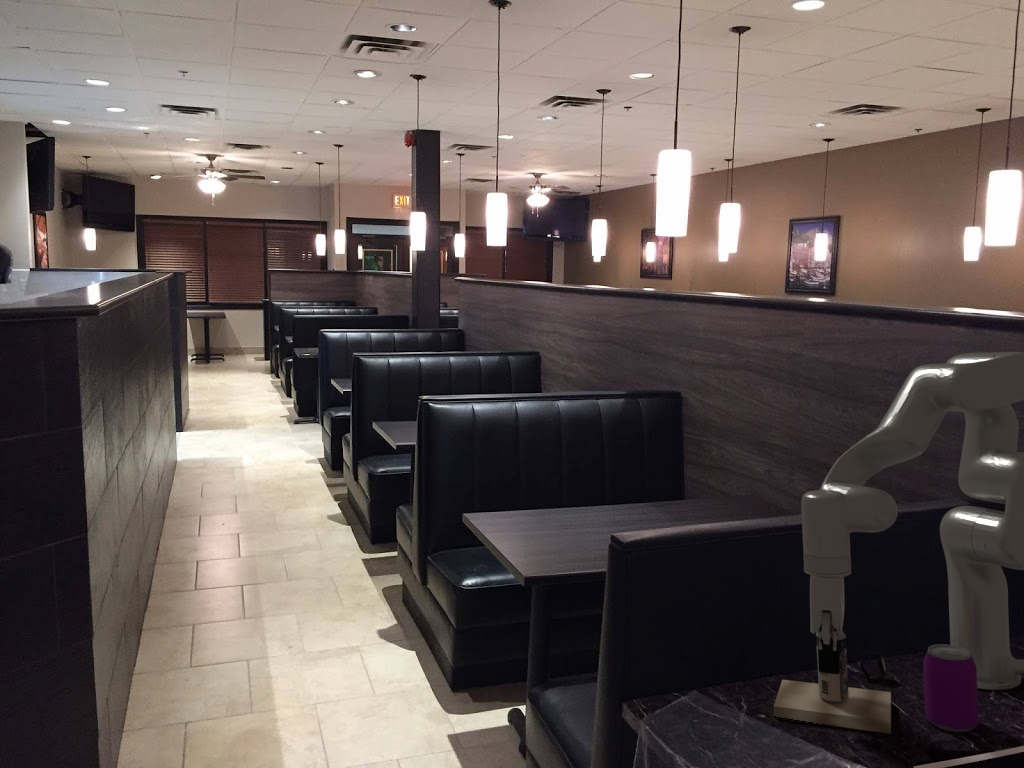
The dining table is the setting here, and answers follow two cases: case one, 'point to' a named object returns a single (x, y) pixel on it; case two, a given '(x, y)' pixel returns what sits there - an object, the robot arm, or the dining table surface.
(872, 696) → the birch board
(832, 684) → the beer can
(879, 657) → the smartwatch
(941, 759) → the dining table surface
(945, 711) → the beverage can
